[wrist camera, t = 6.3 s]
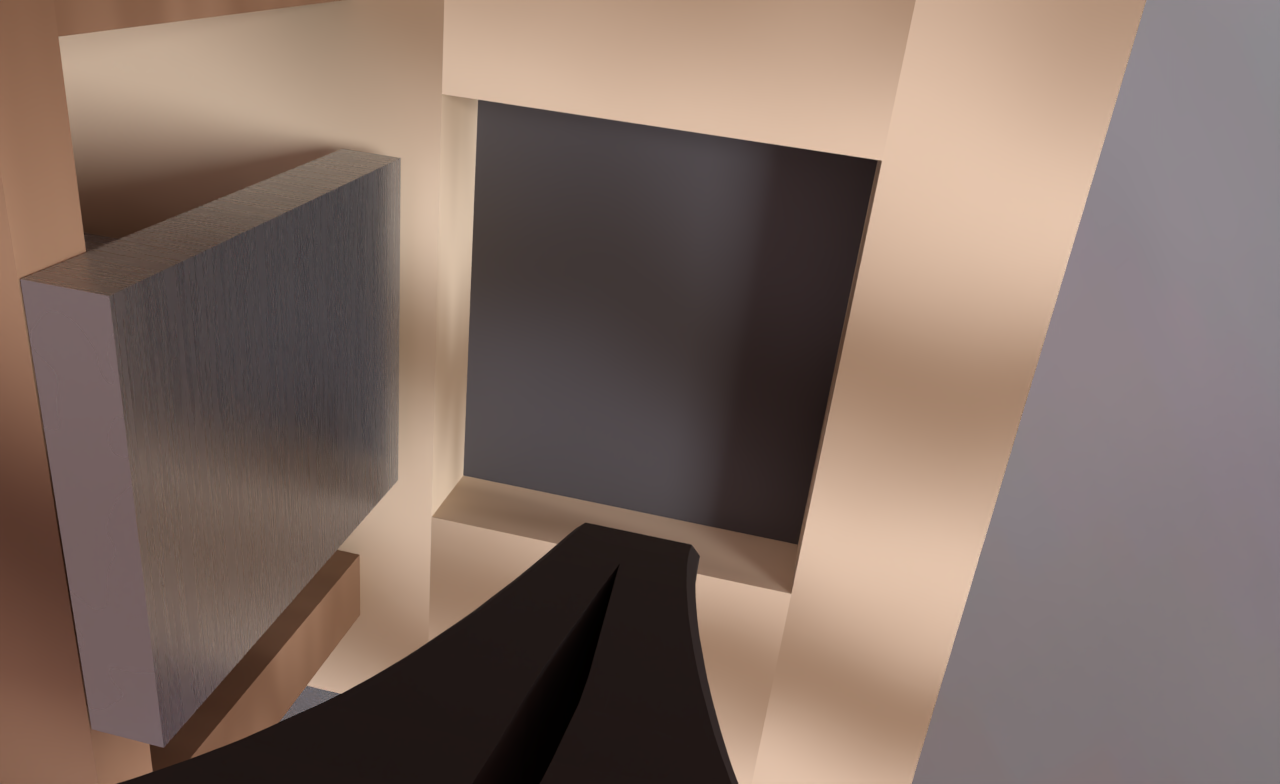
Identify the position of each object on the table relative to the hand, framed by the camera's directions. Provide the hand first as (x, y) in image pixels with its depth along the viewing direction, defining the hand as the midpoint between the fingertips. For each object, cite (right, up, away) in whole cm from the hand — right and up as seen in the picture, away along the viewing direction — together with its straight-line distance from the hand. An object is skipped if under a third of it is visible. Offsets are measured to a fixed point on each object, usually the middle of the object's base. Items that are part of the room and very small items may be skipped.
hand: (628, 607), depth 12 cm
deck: (-6, +5, +9) cm, 12 cm away
